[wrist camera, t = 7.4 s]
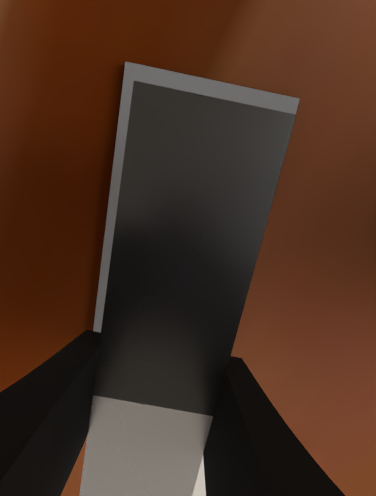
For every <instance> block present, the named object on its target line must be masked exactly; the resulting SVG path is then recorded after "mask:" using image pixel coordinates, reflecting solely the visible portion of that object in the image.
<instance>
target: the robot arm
mask: <svg viewBox="0 0 376 496" xmlns="http://www.w3.org/2000/svg"><path fill="white" fill-rule="evenodd" d="M100 335H101V333H100V332H95V331H89V330H86V331H85V332H83V333H82V334H81V335H79V336H78V337H77V338H75V339H74V340H73V341H72V342H70V343H69V344H68V345H66V346H65V347H64V348H63V349H61V350H60V351H59V352H57V353H56V354H55V355H53V356H52V357H51V358H49V359H48V360H47V361H45V362H44V363H42V364H41V365H40V366H38V367H37V368H36V369H34V370H33V371H31V372H30V373H29V374H27V375H26V376H24V377H23V378H21V379H20V380H19V381H17V382H15V383H14V384H12V385H11V386H9V387H8V388H6V389H5V390H3V391H2V392H0V496H60V495H61V493H62V491H63V489H64V487H65V484H66V482H67V480H68V478H69V475H70V473H71V471H72V469H73V466H74V464H75V462H76V460H77V457H78V455H79V453H80V451H81V448H82V446H83V444H84V442H85V439H86V437H87V435H88V430H89V422H90V415H91V407H92V400H93V392H94V385H95V377H96V370H97V362H98V355H99V343H100ZM203 460H204V474H205V488H206V496H345V495H344V494H343V493H342V492H341V490H340V489H339V488H338V487H337V486H336V485H335V484H334V483H333V482H332V480H331V479H330V478H329V477H328V476H327V475H326V473H325V472H324V471H323V470H322V469H321V468H320V466H319V465H318V464H317V463H316V462H315V460H314V459H313V458H312V456H311V455H310V454H309V453H308V451H307V450H306V449H305V448H304V446H303V445H302V444H301V443H300V441H299V440H298V439H297V438H296V436H295V435H294V434H293V432H292V431H291V430H290V428H289V427H288V426H287V424H286V423H285V422H284V420H283V419H282V417H281V416H280V415H279V413H278V412H277V410H276V409H275V408H274V406H273V405H272V403H271V402H270V400H269V399H268V397H267V396H266V394H265V393H264V391H263V390H262V388H261V387H260V385H259V384H258V382H257V381H256V379H255V378H254V376H253V375H252V373H251V372H250V370H249V369H248V367H247V366H246V364H245V363H244V361H243V360H242V358H237V357H232V356H230V359H229V362H228V366H227V370H226V371H225V375H224V378H223V382H222V386H221V389H220V393H219V397H218V400H217V404H216V408H215V411H214V415H213V419H212V423H211V426H210V430H209V434H208V437H207V441H206V445H205V448H204V452H203Z"/></svg>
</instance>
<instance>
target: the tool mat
mask: <svg viewBox="0 0 376 496" xmlns="http://www.w3.org/2000/svg"><path fill="white" fill-rule="evenodd" d="M134 81H139V82H144V83H148V84H153V85H158V86H163V87H167V88H172V89H177V90H182V91H186V92H191V93H196V94H201V95H205V96H210V97H215V98H220V99H224V100H229V101H234V102H239V103H243V104H248V105H253V106H258V107H262V108H267V109H272V110H277V111H281V112H286V113H291V114H296V111H297V107H298V104H299V100H300V99H299V98H295V97H290V96H285V95H280V94H276V93H271V92H266V91H262V90H257V89H252V88H248V87H243V86H238V85H234V84H229V83H224V82H219V81H215V80H210V79H205V78H201V77H196V76H191V75H187V74H182V73H177V72H172V71H168V70H163V69H158V68H154V67H149V66H144V65H140V64H135V63H130V62H126V61H125V69H124V77H123V85H122V94H121V102H120V110H119V119H118V127H117V135H116V144H115V152H114V160H113V169H112V177H111V185H110V194H109V202H108V210H107V219H106V227H105V235H104V243H103V252H102V260H101V268H100V277H99V285H98V293H97V302H96V310H95V318H94V327H93V331H95V332H100V333H101V327H102V320H103V312H104V304H105V297H106V289H107V281H108V274H109V266H110V259H111V251H112V243H113V236H114V228H115V220H116V213H117V205H118V198H119V190H120V182H121V175H122V167H123V159H124V152H125V144H126V136H127V129H128V121H129V114H130V106H131V98H132V91H133V83H134Z"/></svg>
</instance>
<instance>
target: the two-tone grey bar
mask: <svg viewBox="0 0 376 496" xmlns="http://www.w3.org/2000/svg"><path fill="white" fill-rule="evenodd" d="M295 117H296V114H291V113H286V112H281V111H277V110H272V109H267V108H262V107H258V106H253V105H248V104H243V103H239V102H234V101H229V100H224V99H220V98H215V97H210V96H205V95H201V94H196V93H191V92H186V91H182V90H177V89H172V88H167V87H163V86H158V85H153V84H148V83H144V82H139V81H134V83H133V91H132V98H131V106H130V114H129V121H128V129H127V136H126V144H125V152H124V159H123V167H122V175H121V182H120V190H119V198H118V205H117V213H116V220H115V228H114V236H113V243H112V251H111V259H110V266H109V274H108V281H107V289H106V297H105V304H104V312H103V320H102V327H101V335H100V343H99V355H98V362H97V370H96V377H95V385H94V392H93V400H92V407H91V415H90V422H89V430H88V435H87V442H86V449H85V457H84V465H83V472H82V480H81V488H80V495H79V496H192V494H193V490H194V487H195V483H196V480H197V476H198V472H199V469H200V465H201V461H202V458H203V452H204V448H205V445H206V441H207V437H208V434H209V430H210V426H211V423H212V419H213V415H214V411H215V408H216V404H217V400H218V397H219V393H220V389H221V386H222V382H223V378H224V375H225V371H226V370H227V366H228V362H229V359H230V355H231V351H232V348H233V344H234V340H235V337H236V333H237V329H238V326H239V322H240V318H241V315H242V311H243V308H244V304H245V300H246V297H247V293H248V289H249V286H250V282H251V278H252V275H253V271H254V267H255V264H256V260H257V256H258V253H259V249H260V245H261V242H262V238H263V234H264V231H265V227H266V223H267V220H268V216H269V212H270V209H271V205H272V201H273V198H274V194H275V190H276V187H277V183H278V179H279V176H280V172H281V168H282V165H283V161H284V157H285V154H286V150H287V147H288V143H289V139H290V136H291V132H292V128H293V125H294V121H295Z"/></svg>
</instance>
